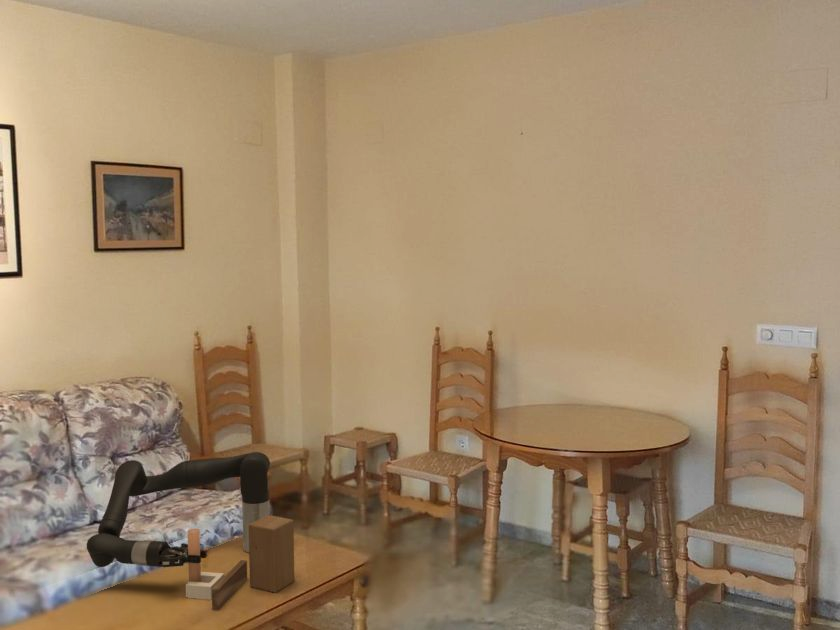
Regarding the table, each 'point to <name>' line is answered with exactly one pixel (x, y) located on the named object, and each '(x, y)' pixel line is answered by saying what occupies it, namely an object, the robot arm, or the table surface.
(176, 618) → the table surface
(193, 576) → the dowel
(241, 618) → the table surface
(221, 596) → the wall
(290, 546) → the wooden block
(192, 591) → the notched block
